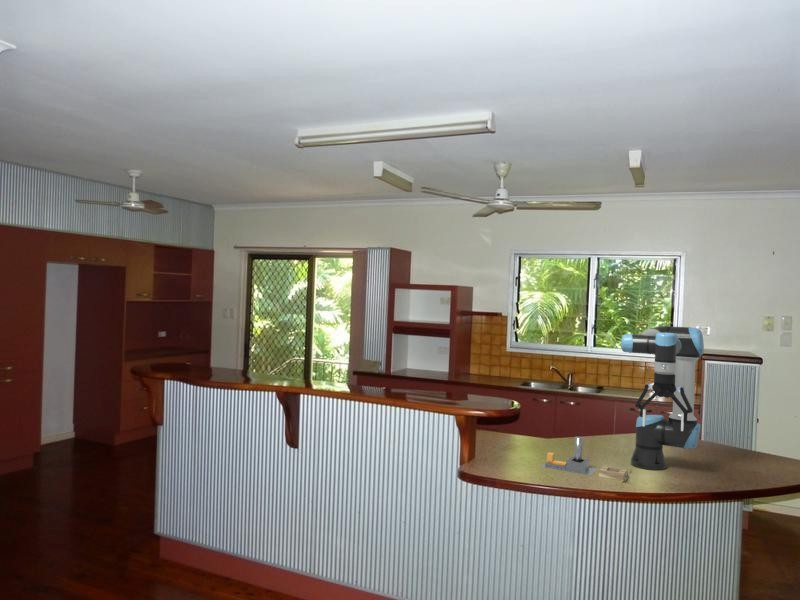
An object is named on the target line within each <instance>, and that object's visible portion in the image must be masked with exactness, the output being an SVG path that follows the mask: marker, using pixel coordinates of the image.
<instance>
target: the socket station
mask: <svg viewBox="0 0 800 600" xmlns="http://www.w3.org/2000/svg"><path fill="white" fill-rule="evenodd" d="M565 462H566V466H564V465H558V464H551V463H547V461H545V462H544V463H543V464H542V465H540V466H539V468H544V469H548V470H549V469H550V470H554V471H555V470H556V471H561V472H568V473H573V474H574V473H575V474H579V475H586V476H592V475H593V474H594V473H595V472H596V471H597V468H594V467H590V459H588V458H582V462H577V461H574V456H570V457H569V458H568V459H566V461H565Z"/></svg>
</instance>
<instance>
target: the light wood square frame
mask: <svg viewBox="0 0 800 600" xmlns="http://www.w3.org/2000/svg"><path fill="white" fill-rule="evenodd" d="M628 474H629V469H628V468H623V467H617V466H612V465H611V466H610V465H602V467H600V469H598V477H601V478H607V479H613V480H620V481H622V482H621V483H622V484H625V482H626V480H627V479H628Z"/></svg>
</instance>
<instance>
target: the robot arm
mask: <svg viewBox="0 0 800 600" xmlns="http://www.w3.org/2000/svg"><path fill="white" fill-rule="evenodd" d="M620 346H621V347H620V348H621V351H622V352H623V353H629V354H644V355H645V354H646V355H654V368H653V369H654V370H653V371H654V372H655V373H654V374H653V384H649V383H645V385H644V388H643V389H644V390H643V391H642V392H641V394H640V396H639V397H638V400H637V401H636V403H635V405H634V406H635V408H639V416H638V417H637V418H636V421H635V422H636V423H635V447H634V450H633V453H632V455H631V458H630V464H631V466H633V467H636V468H639V469H643V470H649V471H650V470H651V471H663V470H665V469H666V468H667V461H666V458H665V455H664V451H663V448H664V446H666V447H672V448H673V447H674V448H680V449H681V448H682V449H683V450H686V449H687V450H694V449H696V447H697V445H698V443H699V439H700V433H701V424H700V423H699V422H698V419H697V417H695V415H694V414H695V413H694V411H695V408H694V407H695V391H696V390H695V388H696V387H695V386H696V366H697V365H696V363H697V361H698V360H699V359H700V357H701V355H703V354H704V353H705V350H704V349H705V347H704V346H705V345H704V337H703V333H702V331H701V329H700V328H698V327H690V326H688V327H687V326H685V327H684V326H667V325H663V326H657V327H656V326H655V327H651V328H647V329H646V330H644V331H643V332H642V333H637V334H632V333H629V334H623V335H622V336H621V340H620ZM651 389H652V390H653V391H654V393H653V394H651V396H649V397H648V398H647V399H646V400H645V401H644V402H643V403H642V401H643V400H644V398H645V396H646V394H647V393H648V391H650V390H651ZM655 397H659V398H666V399H668V398H671V399H672V412H671V414H670V415H669V416H668V419H665V417H664V415H660V414H647V408H645V407H647V406H648V405H649V404H650V402H652V401H653V400H654V399H655Z"/></svg>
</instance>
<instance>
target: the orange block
mask: <svg viewBox="0 0 800 600" xmlns="http://www.w3.org/2000/svg"><path fill="white" fill-rule="evenodd" d="M546 455H547V456H546V462H547V463H551V464H558V465H564V466H566V461H561V460H555V452H550V451H549V452H548V453H546Z"/></svg>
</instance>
